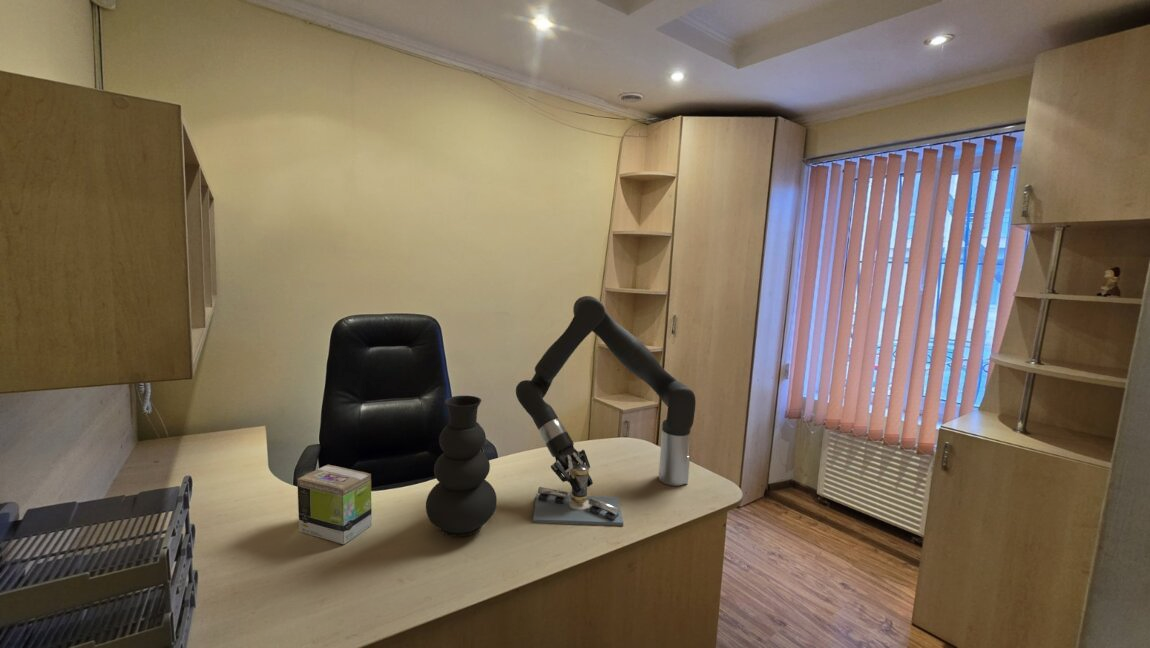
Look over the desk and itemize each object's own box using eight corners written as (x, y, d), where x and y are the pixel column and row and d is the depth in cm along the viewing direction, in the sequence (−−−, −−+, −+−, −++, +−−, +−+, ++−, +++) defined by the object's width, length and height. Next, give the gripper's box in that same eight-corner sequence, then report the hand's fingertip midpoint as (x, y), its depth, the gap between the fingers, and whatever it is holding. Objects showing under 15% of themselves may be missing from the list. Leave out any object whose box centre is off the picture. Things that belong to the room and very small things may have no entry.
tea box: (373, 525, 125) (372, 472, 123) (343, 546, 115) (342, 490, 113) (329, 513, 129) (328, 462, 127) (297, 532, 120) (295, 478, 118)
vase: (423, 513, 131) (423, 392, 126) (489, 504, 138) (491, 389, 133) (428, 553, 114) (428, 414, 109) (502, 540, 121) (506, 409, 116)
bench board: (618, 500, 143) (618, 496, 143) (623, 525, 130) (623, 521, 129) (536, 497, 143) (536, 493, 143) (533, 522, 129) (533, 518, 129)
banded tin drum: (584, 494, 141) (586, 462, 140) (589, 502, 136) (591, 470, 135) (568, 495, 140) (570, 464, 138) (573, 504, 135) (575, 471, 134)
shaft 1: (568, 502, 141) (569, 489, 140) (565, 508, 137) (566, 494, 137) (540, 497, 143) (540, 484, 142) (536, 503, 140) (537, 489, 139)
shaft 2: (586, 514, 135) (587, 500, 134) (593, 508, 138) (593, 495, 137) (613, 525, 130) (614, 510, 129) (619, 519, 133) (620, 505, 132)
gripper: (546, 437, 135) (577, 491, 129) (578, 425, 146) (607, 474, 140) (532, 449, 139) (561, 502, 133) (564, 437, 150) (592, 485, 144)
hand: (584, 488), depth 136 cm, fingers closed on banded tin drum, 4 cm apart
